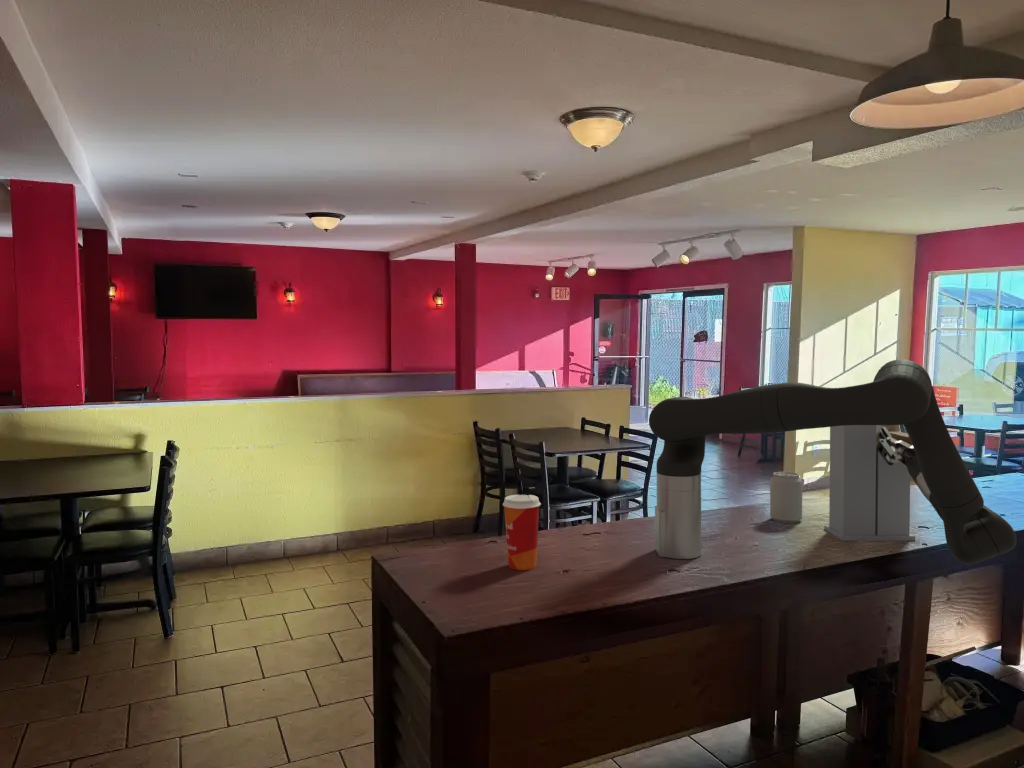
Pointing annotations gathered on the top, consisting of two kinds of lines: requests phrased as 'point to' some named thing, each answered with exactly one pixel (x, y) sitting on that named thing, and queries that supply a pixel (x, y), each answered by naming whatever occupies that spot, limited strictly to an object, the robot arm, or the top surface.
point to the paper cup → (522, 530)
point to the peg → (893, 434)
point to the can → (786, 497)
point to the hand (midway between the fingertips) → (902, 430)
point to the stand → (866, 489)
